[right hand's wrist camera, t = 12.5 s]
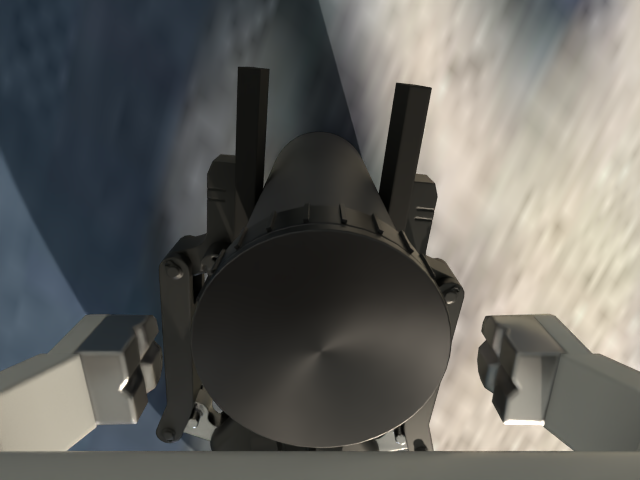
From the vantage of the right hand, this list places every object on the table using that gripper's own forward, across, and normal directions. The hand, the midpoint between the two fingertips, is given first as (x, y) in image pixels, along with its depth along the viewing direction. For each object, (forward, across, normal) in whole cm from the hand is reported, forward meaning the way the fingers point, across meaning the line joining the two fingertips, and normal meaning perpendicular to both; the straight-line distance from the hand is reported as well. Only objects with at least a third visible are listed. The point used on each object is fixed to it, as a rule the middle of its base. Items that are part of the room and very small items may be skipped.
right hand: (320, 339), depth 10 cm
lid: (-1, 0, 0) cm, 1 cm away
